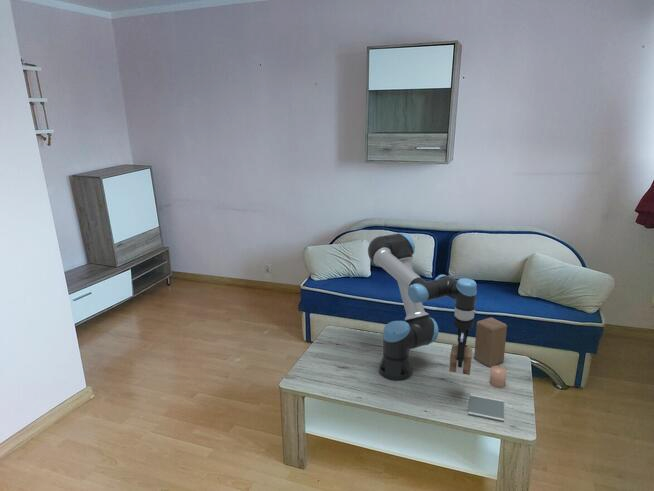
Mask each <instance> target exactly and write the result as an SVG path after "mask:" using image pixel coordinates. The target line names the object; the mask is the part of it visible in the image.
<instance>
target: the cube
mask: <svg viewBox="0 0 654 491" xmlns="http://www.w3.org/2000/svg"><path fill="white" fill-rule="evenodd" d="M457 352H458V344H457V345H456V344H452V346H451V350H450V353H449V356H450V357H449V369H448V370H449V372H450V373H456V364H457V359H455V357H456V358H457ZM472 355H473V347H468V346H467V347H465V349H464V366H463V374H462V375H466V376H470V375H471V367H472V358H473V356H472ZM456 374H457V373H456Z"/></svg>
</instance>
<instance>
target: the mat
mask: <svg viewBox="0 0 654 491" xmlns="http://www.w3.org/2000/svg"><path fill="white" fill-rule="evenodd" d="M468 403H469V404H468V413H467V415H468V416H472V417H476V418H482V419H487V420H491V421H495V422H501V423H505V408H504V407H505V404H504V403H505V402H504V400H503V399H496V398H491V397H487V396H482V395H478V394H477V395H476V394H470V395H469V402H468Z"/></svg>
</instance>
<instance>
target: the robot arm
mask: <svg viewBox="0 0 654 491" xmlns="http://www.w3.org/2000/svg"><path fill="white" fill-rule="evenodd" d="M415 249H416V246H415V242H414V240H413V238H412V236H410V235H409V234H407V233H404V232H403V233H402V232H401V233H394V234H387V235H381V236H380V235H378V236H376V237H375V238H373V239H372V240H371V242H369V244H368V248H367V255H368V258H369V259H370V261H371V262H372V263H373V264H374V265H375V266H377V267H380V268H382V269H383V270H384V271H386V273H388V274H389V275H390V276H391V277H393V278H394V279H395V280H396V281H397V285H398V288H399V292H400V293H399V294H400V296H401V301H402V303H403V306H404V310H405V311H404V312H405V314H406V316H405V317H404V320H391V321H390V322H388V323H387V324H385V326H384V328H383V333H382V338H383V339H382V340H383V341H382V342H383V344H382V345H383V348H382V349H383V350H382V358H381V360H380V362H379V367H378V371H379V374H380V375H381V376H382V377H384V378H385V379H388V380H391V381H404V380H407V379H408V378H410V377H412V374H413V366H412V364H411V360H410V356H409V355H410V353H409V352H410V350H413V349H417V348H420V347H423V346H428V345H431V344H432V343H435V342H436V341H437V339H438V336H439V326H438V324H437V321H436V320H435V318H432V317H430V314H429V313H428V312H426V311H425V308H424V304H423V303H425V302H429V301H432V300H435V299H437V300H438V299H441V298H446V297H449V298H450V299H452V300H455V305H454V316H453V317H454V319H453V326H455V328H457V329H458V330H457V346H458V352H457V358H456V357H455V359H457V364H456V374H460V375H464V374H463V366H464V349H465V347H468V345H466V344H467V339H468V336H469V331H470V330H472V329H473V328H474V326H475V325H474V323H475V319H474V318H475V314H477V311H476V310H475V308H476V298H477V293H478V291H477V283H476V281H475V280H474V279H471V278H467V277H466V278H459V279H456V278H453V277H452V276H449V275H446V274H439V275H438V276H437V277H435V278H434V280H433V279H432V280H428V281H426V279H424V278H422V277H421V276H420V275H419V274H418V273H416V272H415V271H414V269H413V265H412V260H413V258H414V257H413V255H414V254H415V251H416V250H415Z"/></svg>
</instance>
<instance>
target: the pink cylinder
mask: <svg viewBox="0 0 654 491" xmlns="http://www.w3.org/2000/svg"><path fill="white" fill-rule="evenodd" d="M506 380H507V369H506V368H505V367H504V366H501V365H494V366H491V367H490V374H489V385H490V386H492V387H494V388H499V389H502V388H505V386H506Z"/></svg>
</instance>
